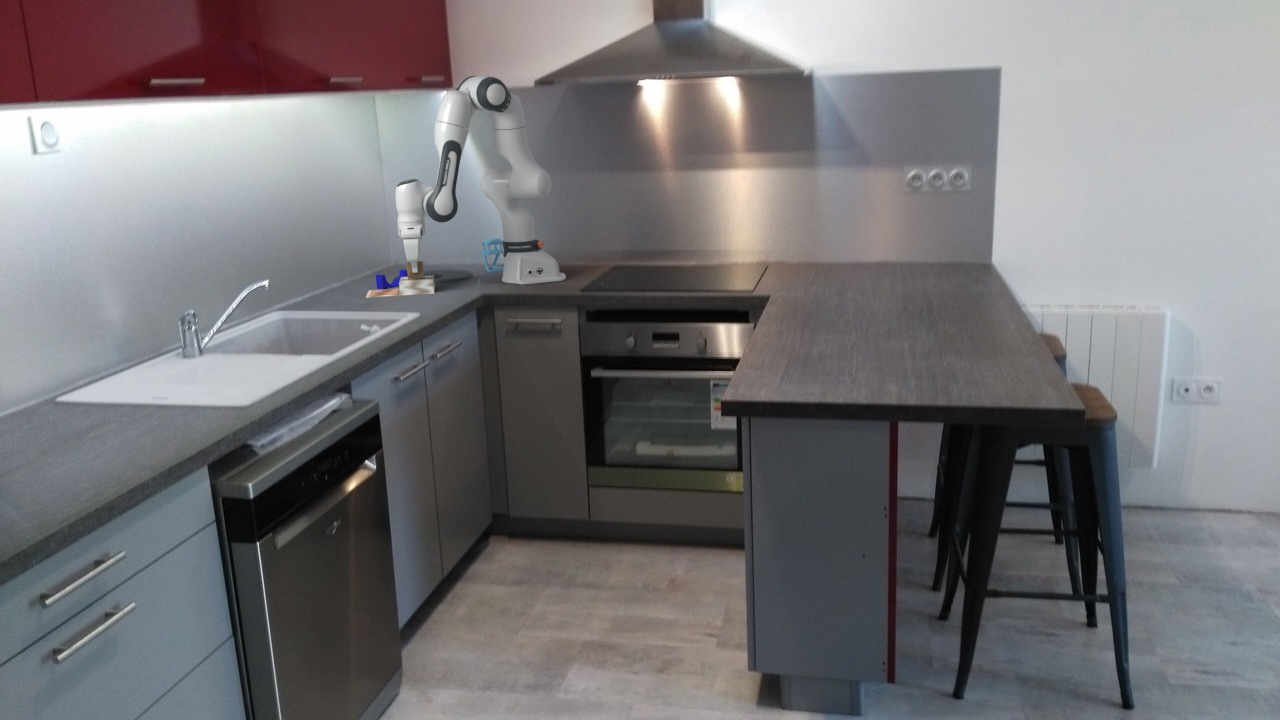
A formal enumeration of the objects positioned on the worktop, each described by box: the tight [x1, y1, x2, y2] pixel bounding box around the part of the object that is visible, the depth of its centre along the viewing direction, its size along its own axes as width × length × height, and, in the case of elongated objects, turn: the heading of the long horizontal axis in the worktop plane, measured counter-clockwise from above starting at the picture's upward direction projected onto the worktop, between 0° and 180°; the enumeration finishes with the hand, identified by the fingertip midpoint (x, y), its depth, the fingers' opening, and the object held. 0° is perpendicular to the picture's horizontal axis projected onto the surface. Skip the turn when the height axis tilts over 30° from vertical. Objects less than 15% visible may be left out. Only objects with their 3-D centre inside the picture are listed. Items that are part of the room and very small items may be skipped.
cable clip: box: [375, 269, 408, 290], centre depth 366 cm, size 12×4×6 cm, turn 144°
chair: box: [480, 238, 504, 273], centre depth 396 cm, size 8×8×12 cm
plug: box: [406, 260, 425, 280], centre depth 354 cm, size 5×3×9 cm, turn 99°
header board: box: [365, 274, 436, 299], centre depth 354 cm, size 22×13×5 cm, turn 99°
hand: (415, 271), depth 354 cm, fingers closed on plug, 3 cm apart
